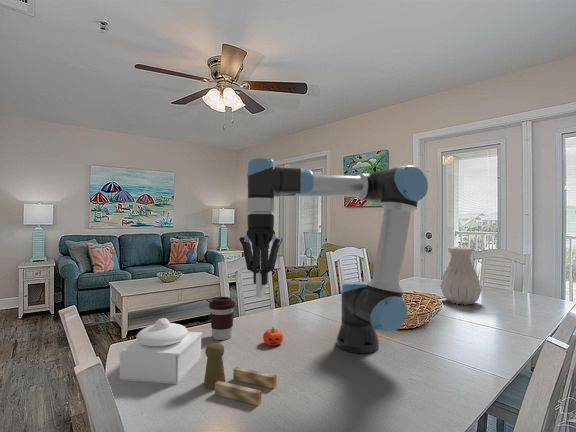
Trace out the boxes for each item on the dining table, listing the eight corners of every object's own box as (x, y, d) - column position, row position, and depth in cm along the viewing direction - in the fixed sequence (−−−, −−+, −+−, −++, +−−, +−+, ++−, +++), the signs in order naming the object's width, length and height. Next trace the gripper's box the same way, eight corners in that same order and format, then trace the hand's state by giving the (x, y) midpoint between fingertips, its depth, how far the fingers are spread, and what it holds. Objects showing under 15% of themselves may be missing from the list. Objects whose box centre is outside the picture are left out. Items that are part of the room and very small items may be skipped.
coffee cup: (229, 342, 126) (229, 302, 126) (204, 340, 128) (204, 301, 128) (238, 333, 136) (238, 296, 136) (215, 331, 138) (215, 295, 138)
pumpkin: (286, 344, 126) (288, 328, 125) (271, 350, 120) (273, 333, 120) (273, 337, 131) (274, 321, 130) (257, 343, 125) (259, 326, 124)
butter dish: (151, 355, 115) (151, 308, 115) (202, 358, 112) (202, 310, 112) (119, 380, 97) (119, 325, 97) (178, 385, 95) (179, 328, 95)
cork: (205, 378, 98) (205, 340, 98) (226, 377, 99) (226, 340, 99) (202, 389, 92) (202, 349, 92) (224, 388, 93) (224, 348, 93)
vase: (446, 306, 177) (446, 249, 177) (436, 297, 197) (436, 245, 197) (487, 308, 174) (487, 250, 174) (473, 298, 194) (473, 246, 194)
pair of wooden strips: (276, 386, 94) (276, 375, 94) (258, 405, 84) (258, 393, 84) (236, 377, 99) (236, 366, 99) (214, 394, 90) (215, 383, 90)
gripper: (286, 213, 98) (286, 295, 98) (247, 213, 103) (247, 291, 103) (275, 213, 91) (275, 301, 91) (234, 213, 96) (233, 296, 96)
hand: (260, 295), depth 97 cm, fingers closed
